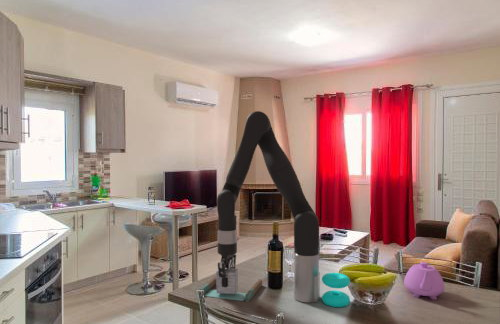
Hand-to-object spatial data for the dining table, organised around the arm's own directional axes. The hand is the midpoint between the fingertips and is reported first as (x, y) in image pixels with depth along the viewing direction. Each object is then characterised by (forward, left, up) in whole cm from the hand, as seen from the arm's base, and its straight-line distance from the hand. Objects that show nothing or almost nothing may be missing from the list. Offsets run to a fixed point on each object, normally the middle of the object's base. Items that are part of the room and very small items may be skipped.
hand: (227, 284), depth 142 cm
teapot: (-73, -23, -4) cm, 77 cm away
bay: (0, -5, -4) cm, 6 cm away
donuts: (-41, -5, -4) cm, 41 cm away
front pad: (0, +1, -4) cm, 4 cm away
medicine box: (0, 0, -3) cm, 3 cm away
